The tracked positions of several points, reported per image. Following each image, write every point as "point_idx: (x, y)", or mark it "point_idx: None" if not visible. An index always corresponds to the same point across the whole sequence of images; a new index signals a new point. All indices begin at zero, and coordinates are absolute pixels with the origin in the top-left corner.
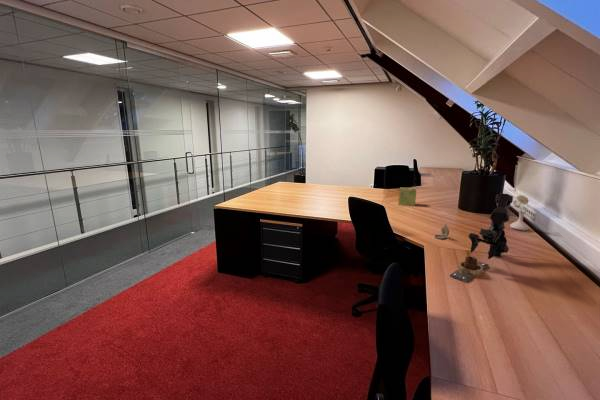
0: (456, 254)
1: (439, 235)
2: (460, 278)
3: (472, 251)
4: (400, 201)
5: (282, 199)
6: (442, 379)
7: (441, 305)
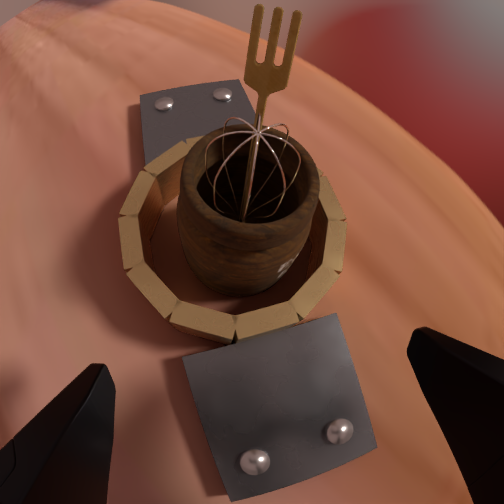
0: None
1: None
2: (176, 88)
3: (418, 367)
4: None
5: None
6: None
7: (128, 7)
